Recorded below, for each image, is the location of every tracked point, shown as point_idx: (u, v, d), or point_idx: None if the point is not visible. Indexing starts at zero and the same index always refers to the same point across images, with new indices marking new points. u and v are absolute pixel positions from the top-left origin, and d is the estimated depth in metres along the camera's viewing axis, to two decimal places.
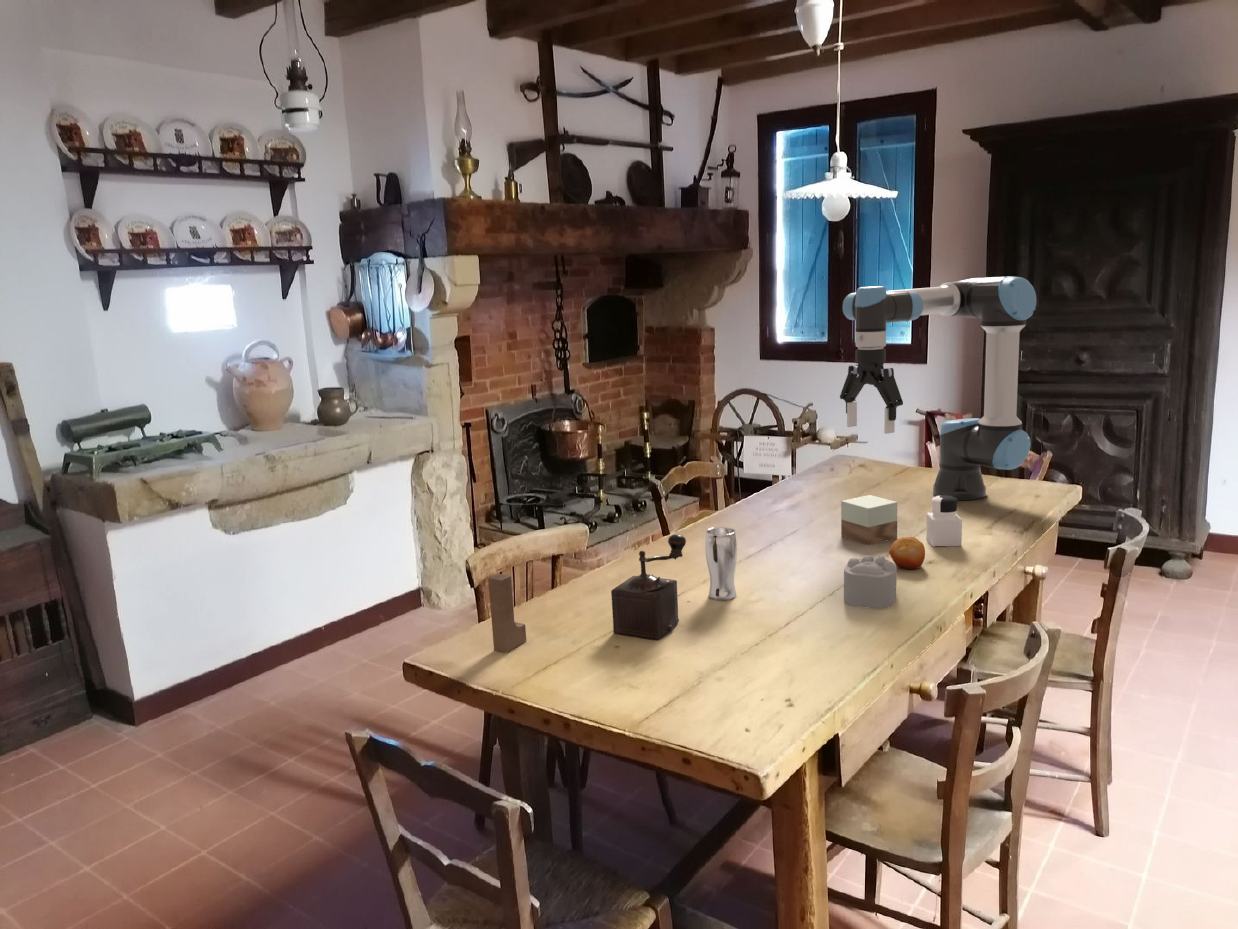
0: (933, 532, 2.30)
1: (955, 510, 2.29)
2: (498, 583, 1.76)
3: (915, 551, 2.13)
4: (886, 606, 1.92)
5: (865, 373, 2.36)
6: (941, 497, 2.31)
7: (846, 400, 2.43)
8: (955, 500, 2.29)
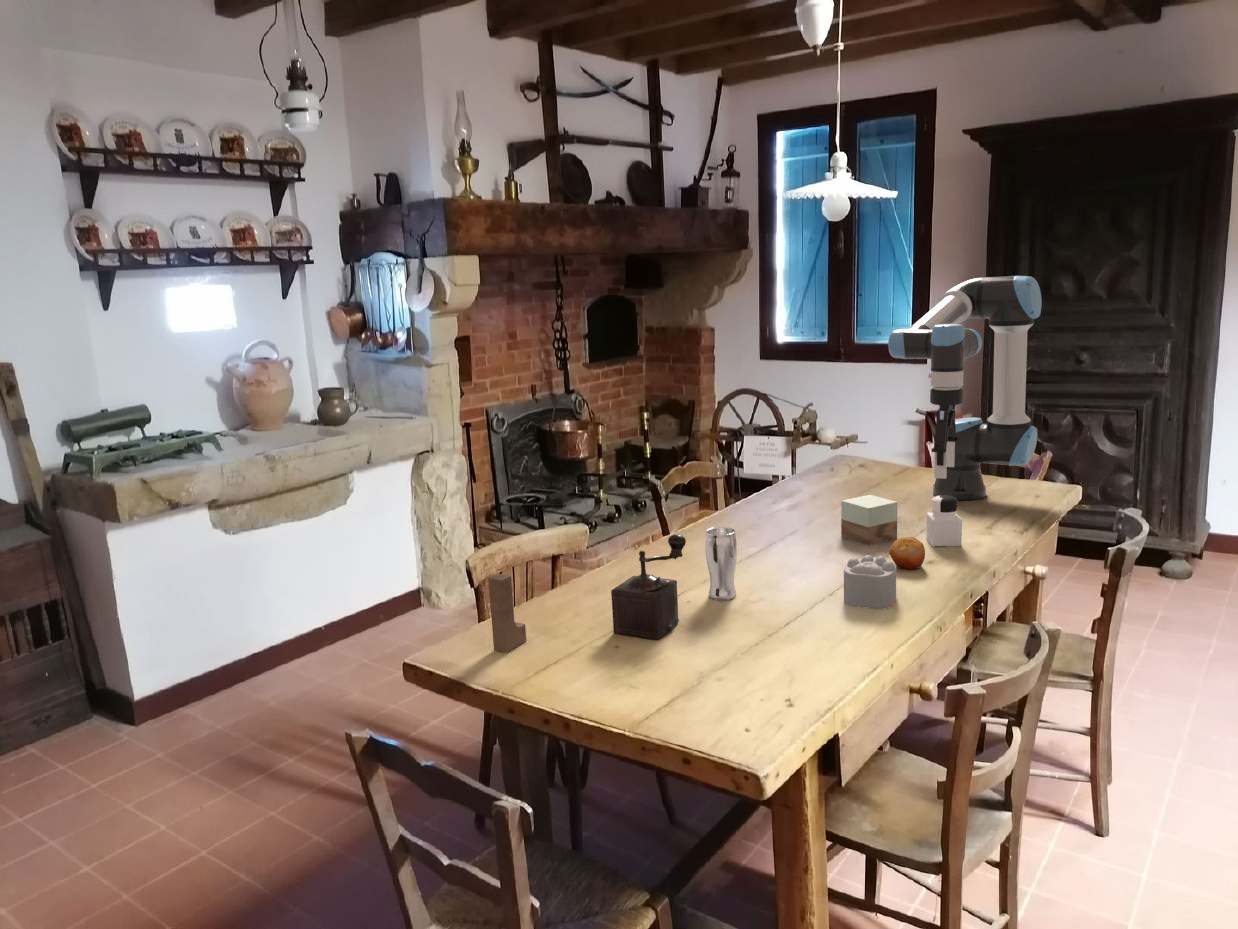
0: (933, 532, 2.30)
1: (955, 510, 2.29)
2: (498, 582, 1.76)
3: (915, 551, 2.13)
4: (886, 606, 1.92)
5: None
6: (941, 497, 2.31)
7: None
8: (955, 500, 2.29)
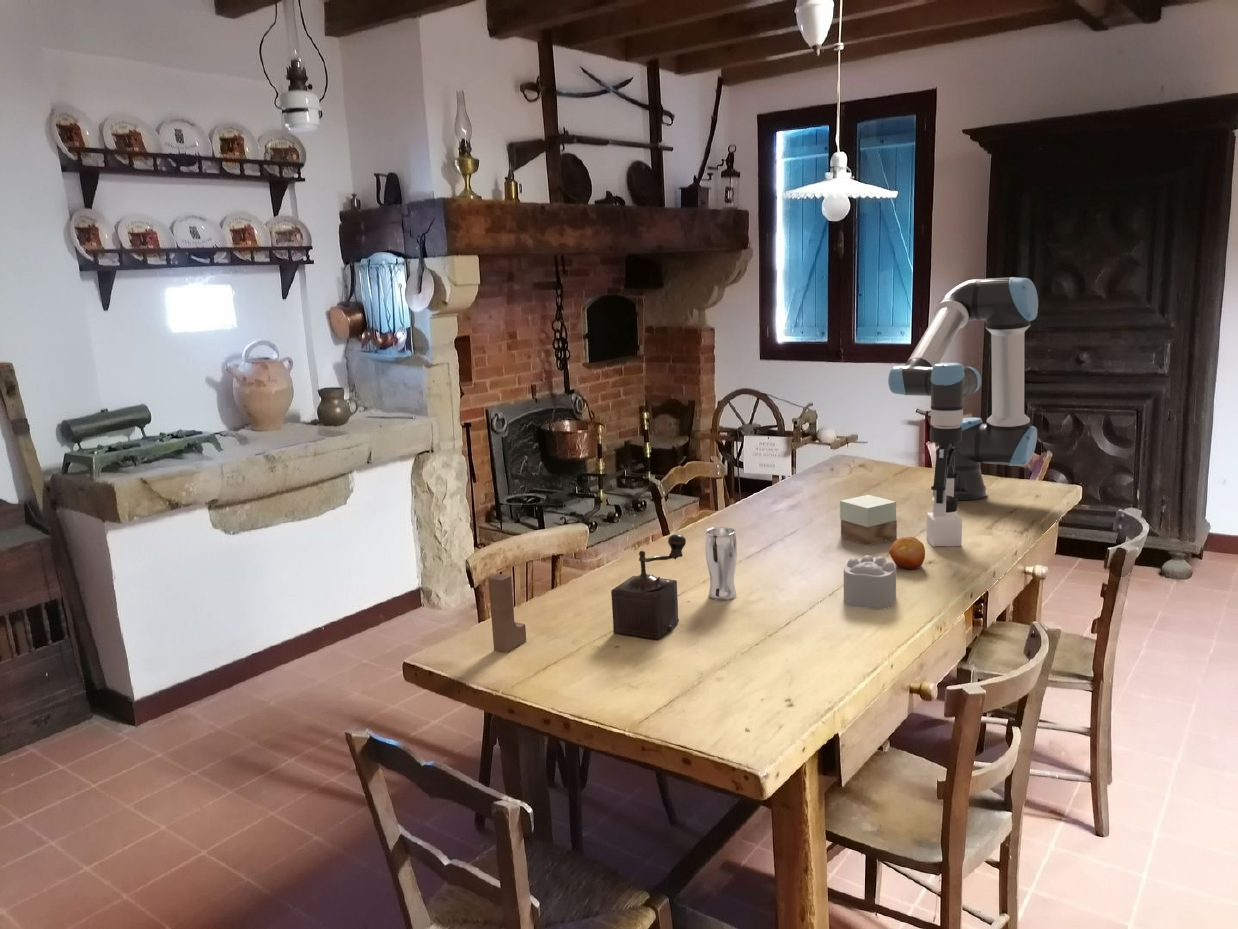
0: (933, 532, 2.30)
1: (955, 510, 2.29)
2: (498, 583, 1.76)
3: (915, 551, 2.13)
4: (886, 606, 1.92)
5: None
6: None
7: None
8: (955, 500, 2.29)
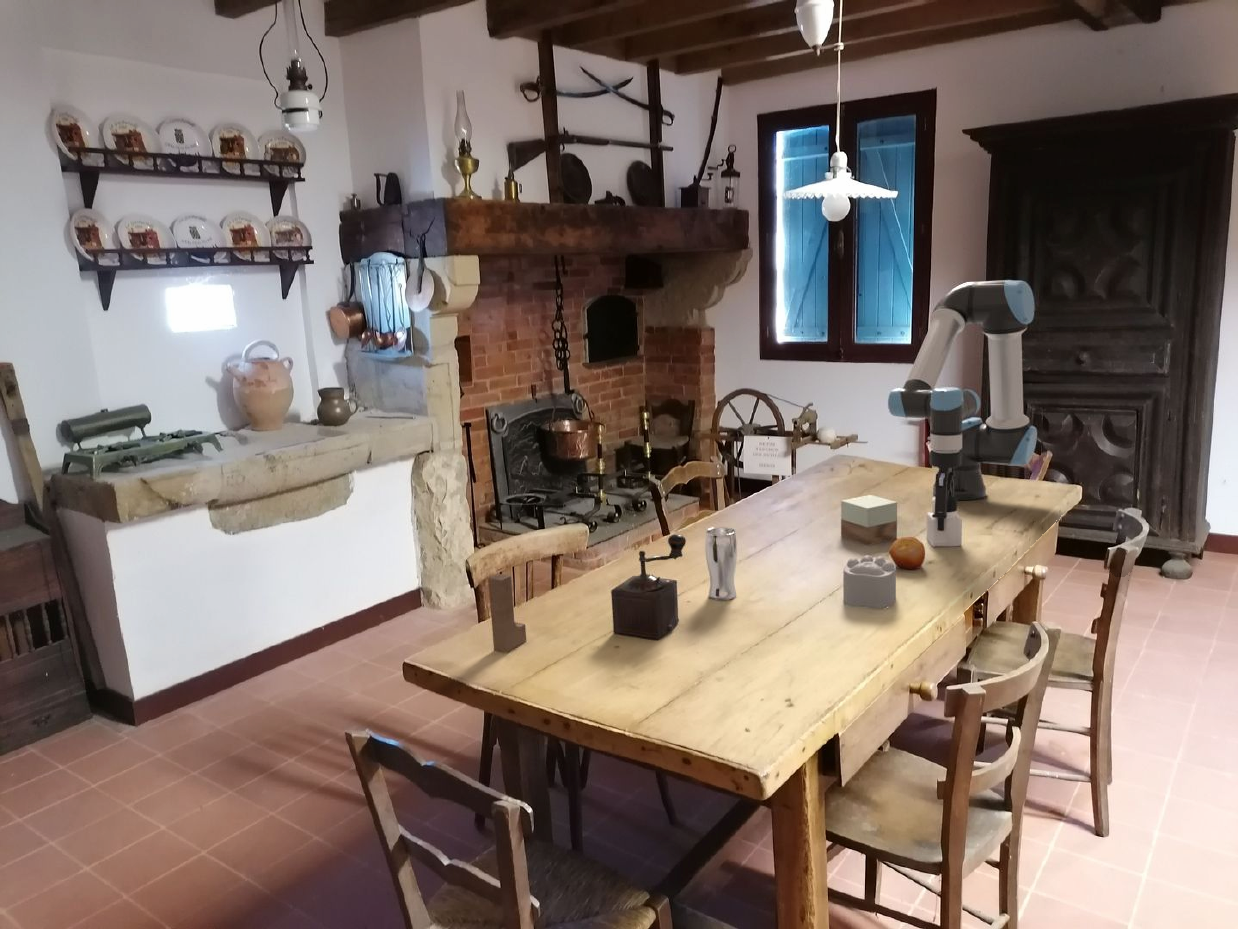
0: (933, 532, 2.30)
1: (955, 510, 2.29)
2: (498, 583, 1.76)
3: (915, 551, 2.13)
4: (886, 606, 1.92)
5: None
6: None
7: None
8: (955, 500, 2.29)
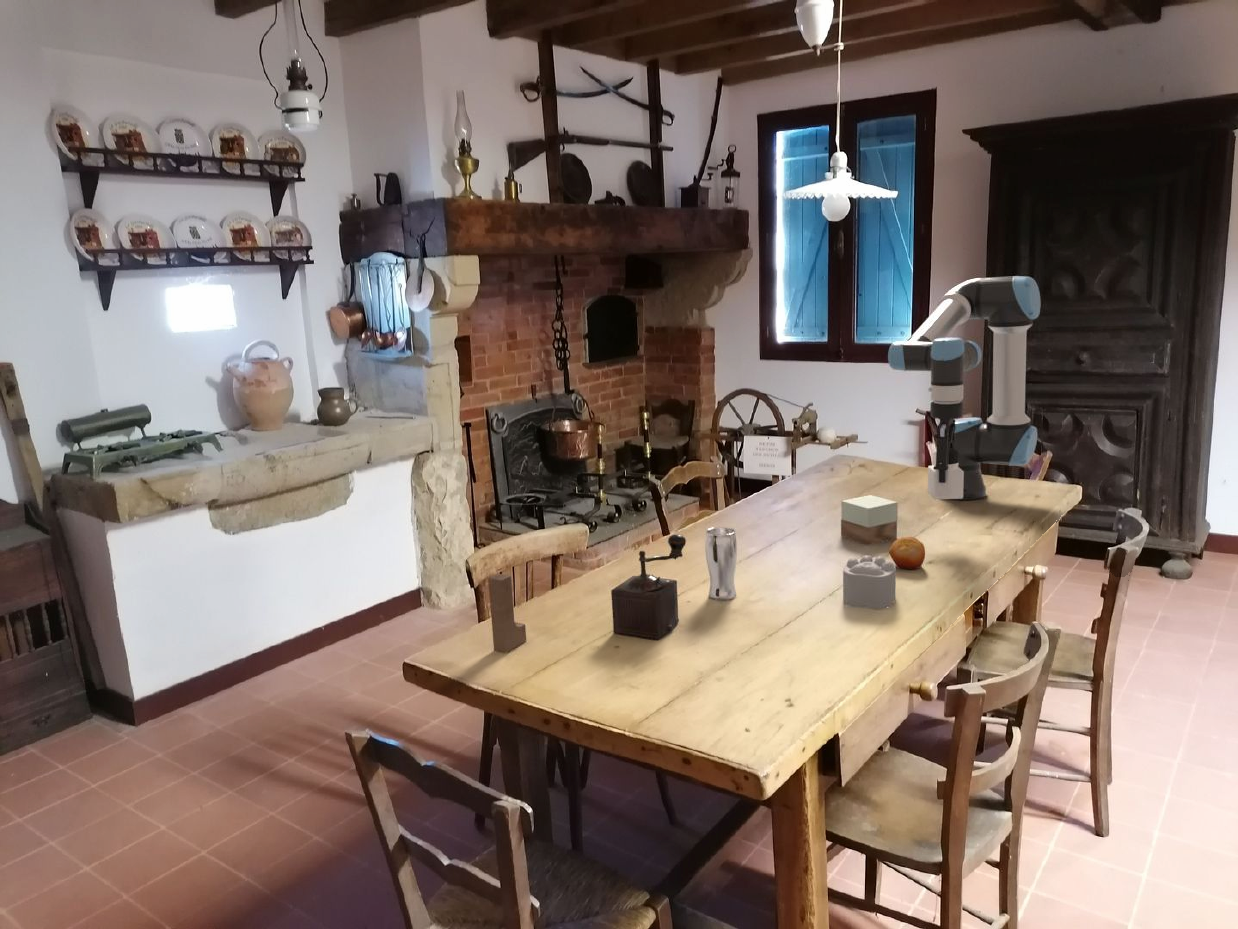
0: (934, 484, 2.27)
1: (956, 462, 2.27)
2: (498, 583, 1.76)
3: (915, 551, 2.13)
4: (885, 606, 1.92)
5: None
6: None
7: None
8: (956, 452, 2.27)
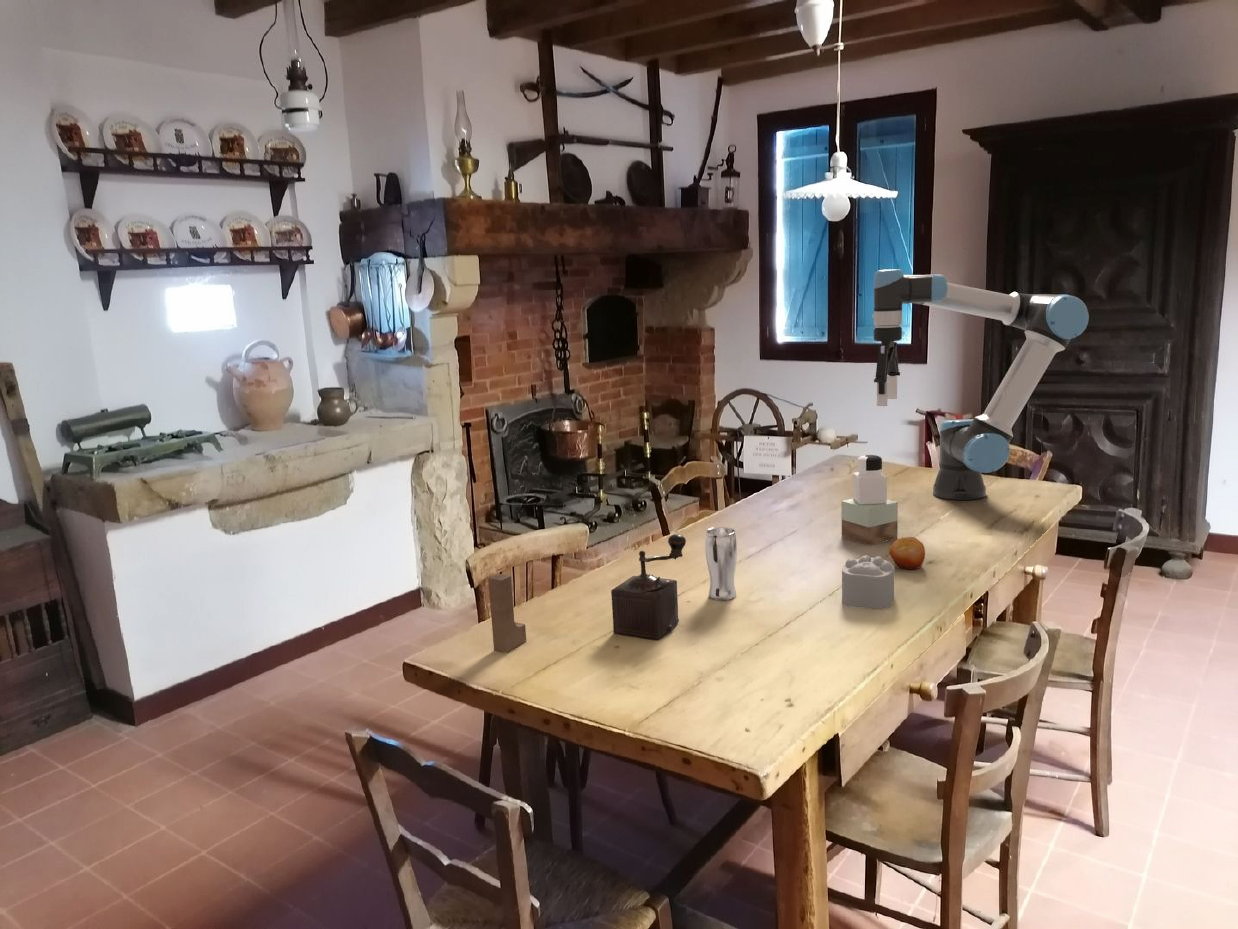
0: (859, 490, 2.35)
1: (880, 468, 2.35)
2: (498, 583, 1.76)
3: (915, 551, 2.13)
4: (884, 606, 1.92)
5: None
6: (866, 456, 2.37)
7: (888, 373, 2.64)
8: (880, 458, 2.35)
